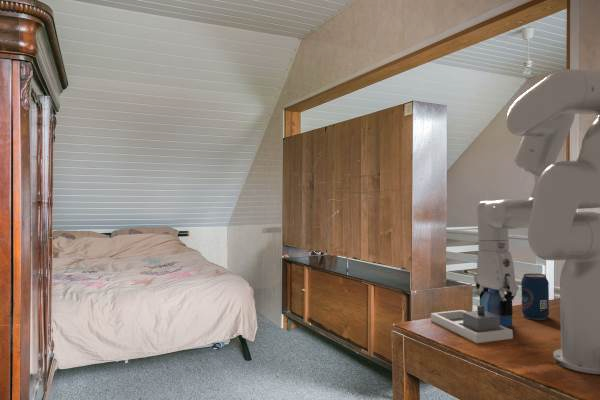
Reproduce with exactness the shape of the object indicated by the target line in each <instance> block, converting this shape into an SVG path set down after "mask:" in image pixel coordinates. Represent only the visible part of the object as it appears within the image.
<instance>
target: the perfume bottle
mask: <svg viewBox="0 0 600 400" xmlns="http://www.w3.org/2000/svg"><path fill="white" fill-rule="evenodd" d="M488 289H489V291H485V292H484V294H483V295H482V297H481V299H480V298H479V305H481V306H484V311H487V312H490V313H492V314H495V315H498V316H500V325H501V326H504V327H513V314H512V315H510V316H501V310H500V300H502V298H501V296H500V293H499V291H497V290H493V289H490V288H488ZM506 294H507V293H505V295H506Z"/></svg>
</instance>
